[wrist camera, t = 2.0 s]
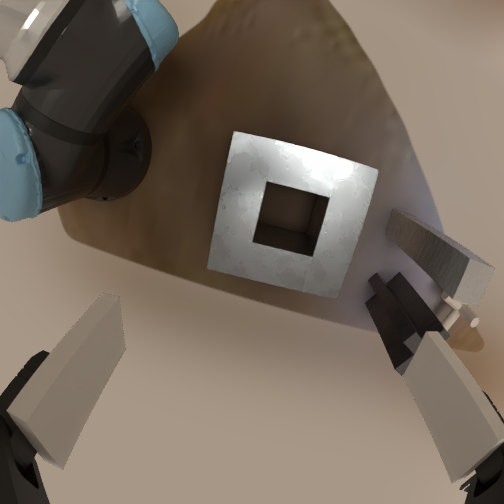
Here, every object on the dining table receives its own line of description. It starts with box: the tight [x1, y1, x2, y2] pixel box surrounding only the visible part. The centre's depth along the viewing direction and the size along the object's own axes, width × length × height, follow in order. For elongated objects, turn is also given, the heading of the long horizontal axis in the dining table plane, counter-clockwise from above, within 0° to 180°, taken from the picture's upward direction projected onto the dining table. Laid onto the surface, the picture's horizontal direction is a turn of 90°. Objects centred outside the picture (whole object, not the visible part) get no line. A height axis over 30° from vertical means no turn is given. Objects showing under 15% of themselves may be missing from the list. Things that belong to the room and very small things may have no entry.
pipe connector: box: [441, 291, 479, 331], centre depth 36 cm, size 10×10×10 cm
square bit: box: [385, 209, 495, 306], centre depth 29 cm, size 4×4×20 cm
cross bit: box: [365, 272, 450, 376], centre depth 35 cm, size 8×8×16 cm
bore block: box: [207, 131, 379, 299], centre depth 35 cm, size 16×16×9 cm
